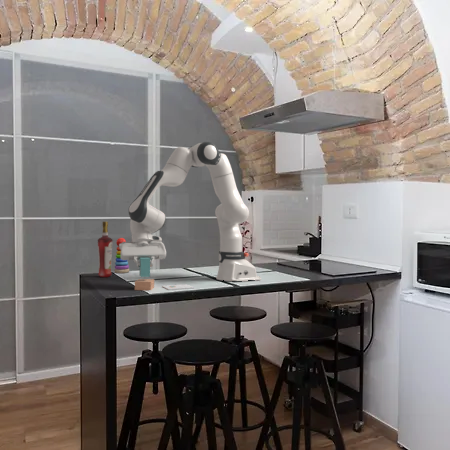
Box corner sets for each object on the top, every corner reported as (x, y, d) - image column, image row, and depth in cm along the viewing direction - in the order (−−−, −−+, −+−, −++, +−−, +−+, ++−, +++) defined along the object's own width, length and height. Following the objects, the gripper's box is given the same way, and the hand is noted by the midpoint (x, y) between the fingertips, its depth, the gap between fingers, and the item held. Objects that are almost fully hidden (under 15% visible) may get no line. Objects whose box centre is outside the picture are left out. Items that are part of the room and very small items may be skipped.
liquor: (102, 275, 246) (102, 221, 244) (115, 276, 243) (115, 221, 242) (94, 277, 239) (94, 221, 237) (107, 278, 236) (107, 222, 235)
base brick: (154, 288, 212) (154, 279, 212) (150, 291, 205) (150, 281, 205) (138, 287, 212) (138, 278, 212) (134, 290, 205) (134, 281, 205)
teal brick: (148, 275, 211) (148, 257, 211) (150, 276, 207) (150, 258, 207) (139, 275, 210) (139, 257, 209) (140, 277, 206) (141, 258, 205)
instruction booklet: (186, 285, 220) (186, 283, 220) (194, 288, 212) (194, 286, 212) (161, 286, 215) (161, 285, 215) (168, 289, 207) (168, 288, 207)
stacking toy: (123, 270, 263) (123, 237, 262) (132, 272, 258) (132, 238, 257) (111, 272, 257) (111, 237, 256) (120, 273, 252) (120, 238, 251)
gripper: (119, 237, 211) (121, 262, 202) (164, 237, 217) (168, 261, 209) (118, 246, 215) (120, 271, 206) (162, 246, 222) (166, 269, 213)
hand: (145, 266), depth 208 cm, fingers closed on teal brick, 4 cm apart
